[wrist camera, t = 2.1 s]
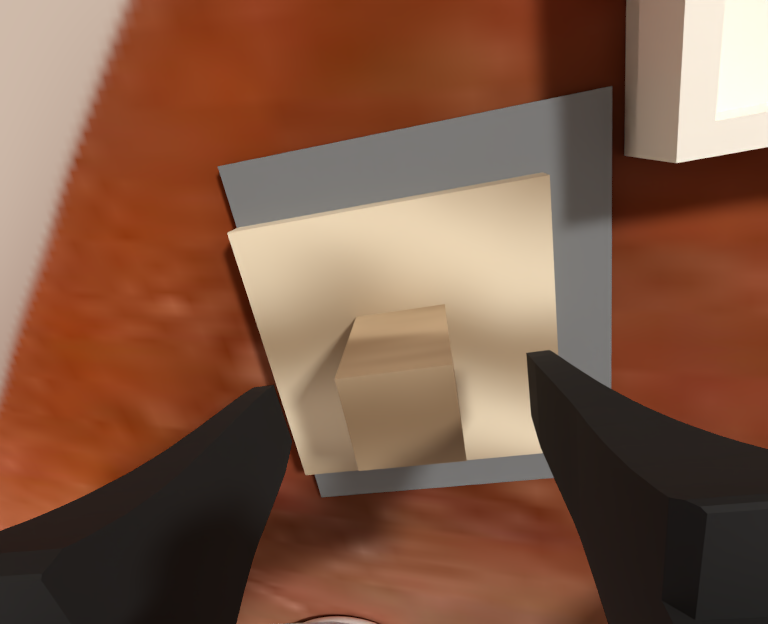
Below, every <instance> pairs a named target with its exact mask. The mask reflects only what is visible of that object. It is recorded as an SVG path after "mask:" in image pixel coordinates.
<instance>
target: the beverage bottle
mask: <svg viewBox="0 0 768 624" xmlns="http://www.w3.org/2000/svg"><path fill="white" fill-rule="evenodd" d="M330 621H334V622H342V623H350V624H377V623H374V622H371V621H368V620H364V619H359V618H354V617H345V616H330V617H321V618H316V619H312V620H309V621H306V622H304V623H308V622H330Z"/></svg>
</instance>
